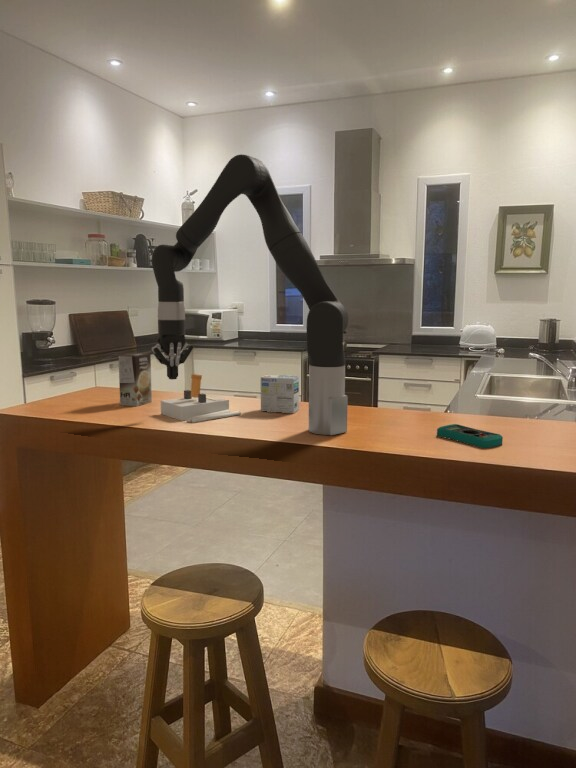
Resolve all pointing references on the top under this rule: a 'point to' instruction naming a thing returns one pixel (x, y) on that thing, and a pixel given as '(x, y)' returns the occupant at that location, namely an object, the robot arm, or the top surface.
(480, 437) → the digital multimeter
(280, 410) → the light bulb box
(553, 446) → the top surface
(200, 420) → the light grey rod
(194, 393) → the lever
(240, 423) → the top surface
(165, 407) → the box
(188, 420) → the pale grey thin bar
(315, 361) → the robot arm
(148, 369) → the coffee box
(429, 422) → the top surface
